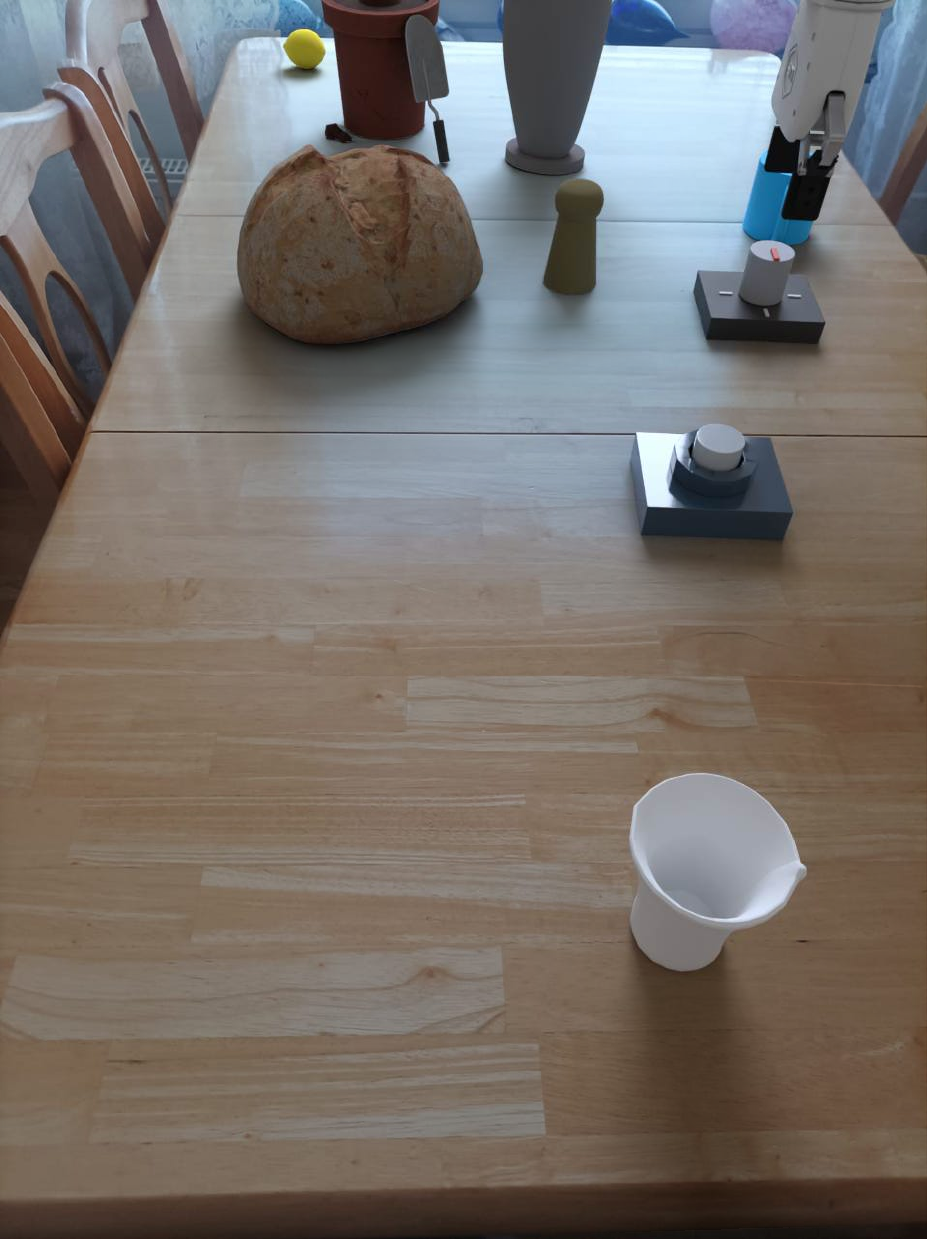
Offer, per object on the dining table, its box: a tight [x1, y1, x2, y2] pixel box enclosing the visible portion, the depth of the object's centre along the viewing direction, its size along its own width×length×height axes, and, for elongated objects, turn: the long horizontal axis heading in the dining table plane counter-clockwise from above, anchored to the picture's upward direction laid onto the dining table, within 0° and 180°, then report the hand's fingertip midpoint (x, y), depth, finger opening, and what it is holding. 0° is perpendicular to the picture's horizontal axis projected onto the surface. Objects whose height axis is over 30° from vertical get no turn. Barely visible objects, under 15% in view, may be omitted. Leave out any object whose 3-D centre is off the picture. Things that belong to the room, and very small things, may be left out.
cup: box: [628, 772, 808, 972], centre depth 52 cm, size 9×9×10 cm
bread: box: [236, 143, 484, 345], centre depth 98 cm, size 26×23×15 cm
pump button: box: [692, 423, 745, 472], centre depth 78 cm, size 4×4×2 cm
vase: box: [502, 0, 613, 176], centre depth 115 cm, size 13×13×35 cm
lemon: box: [282, 28, 326, 70], centre depth 147 cm, size 7×5×5 cm
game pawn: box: [542, 177, 605, 296], centre depth 103 cm, size 6×6×11 cm
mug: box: [742, 150, 814, 246], centre depth 112 cm, size 12×8×8 cm
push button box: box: [629, 428, 794, 542], centre depth 80 cm, size 12×10×5 cm
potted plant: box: [320, 0, 451, 164], centre depth 124 cm, size 18×22×25 cm
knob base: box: [693, 269, 827, 344], centre depth 102 cm, size 12×10×3 cm
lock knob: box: [739, 240, 796, 306], centre depth 99 cm, size 5×5×5 cm
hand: (788, 194), depth 86 cm, fingers open, 9 cm apart
